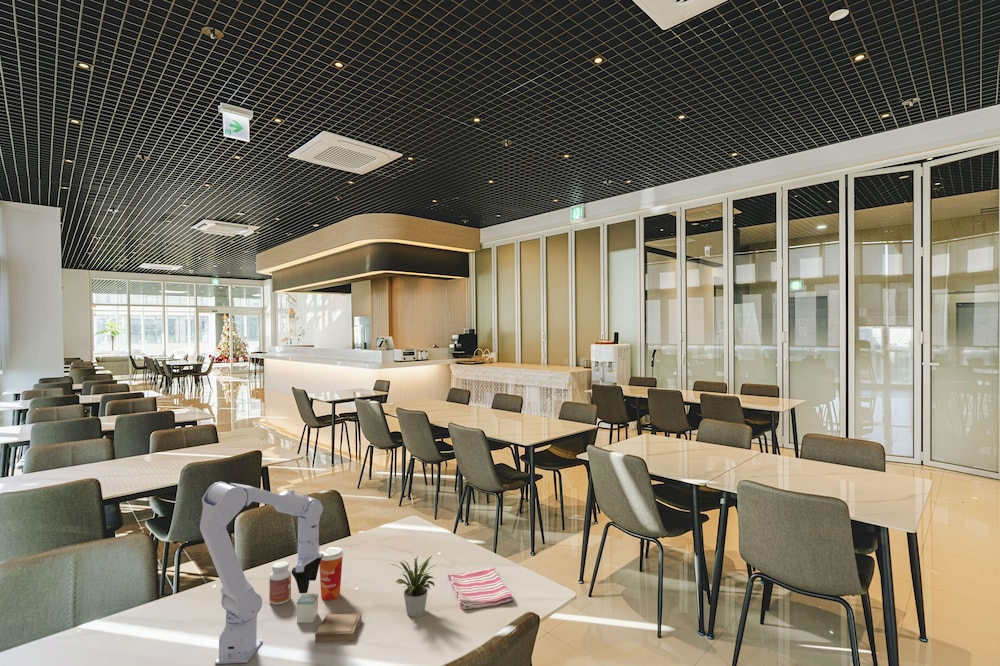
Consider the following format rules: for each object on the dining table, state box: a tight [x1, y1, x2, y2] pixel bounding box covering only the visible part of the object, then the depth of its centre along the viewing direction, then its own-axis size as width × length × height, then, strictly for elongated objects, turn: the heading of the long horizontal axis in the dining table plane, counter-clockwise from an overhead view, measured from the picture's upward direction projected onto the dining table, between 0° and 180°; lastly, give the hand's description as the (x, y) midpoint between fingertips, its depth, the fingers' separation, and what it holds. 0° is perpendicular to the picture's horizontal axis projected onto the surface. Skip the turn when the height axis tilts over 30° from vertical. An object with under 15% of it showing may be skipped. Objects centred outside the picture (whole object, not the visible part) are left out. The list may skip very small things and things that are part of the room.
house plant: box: [388, 555, 437, 618], centre depth 148 cm, size 14×14×16 cm
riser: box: [314, 613, 362, 643], centre depth 139 cm, size 10×10×2 cm
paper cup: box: [319, 546, 345, 601], centre depth 159 cm, size 8×8×14 cm
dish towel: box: [447, 567, 514, 610], centre depth 163 cm, size 17×23×4 cm
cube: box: [296, 593, 319, 624], centre depth 146 cm, size 5×5×6 cm
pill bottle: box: [268, 560, 292, 605], centre depth 156 cm, size 6×6×11 cm
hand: (307, 586), depth 146 cm, fingers open, 7 cm apart
